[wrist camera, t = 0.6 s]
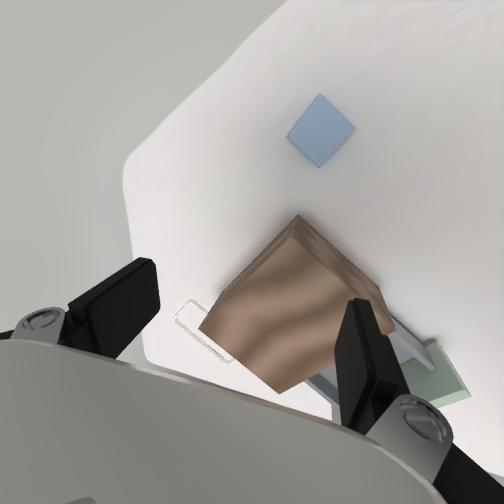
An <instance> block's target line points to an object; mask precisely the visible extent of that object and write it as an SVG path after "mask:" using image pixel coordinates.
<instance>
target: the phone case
mask: <svg viewBox="0 0 504 504" xmlns="http://www.w3.org/2000/svg"><path fill="white" fill-rule="evenodd" d="M188 304H192V305H193V306H195V307H196V308H197V309H198V310H200V311H201V312H202V313H203V314H204V315H206V316H207V314H208V313H209V312H208V311H207V310H205V309H204V308H203V307H202V306H201V305H199V304H198V303H197V302H196V301H194V300H192V299H190V300H189V302H188V303H187V304H186V305H185V306H184V307H183V308H182V309H181V310H180V312H179V313H178V314H177V315H176V316H175V317H174V318H173V321H174V322H175V323H176V324H177V325H178V326H179V327H181V328H182V329H183V330H184V331H185V332H187V333H188V334H189V335H190V336H192V337H193V338H194V339H195V340H196V341H198V342H199V343H200V344H201V345H203V346H204V347H205V348H206V349H207V350H209V351H210V352H211V353H212V354H214V355H215V356H216V357H217V358H218V359H220V360H221V361H222V362H223V363H225V364H226V365H230V364H232V363H233V362H235V361H236V359H235V358H233V359H232V360H231V361H228V360H227V359H225V358H224V357H223V358H221V357H220V356H219V355H217V354H216V353H215V352H214V351H212V350H211V349H210V348H209V347H208V344H207V343H206V342H204V341H203V340H202V339H201V338H200V337H198V336H197V335H196V334H195V333H193V332H192V331H191V330H190V329H189V328H187V327H186V326H185V325H184V324H182V323H181V322H180V321H179V320H178V319H177V316H178V315H179V314H180V313H181V312H182V311H183V310H184V308H185V307H186V306H187V305H188Z"/></svg>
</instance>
